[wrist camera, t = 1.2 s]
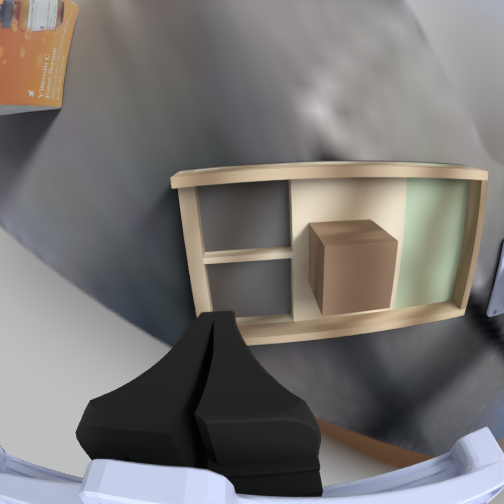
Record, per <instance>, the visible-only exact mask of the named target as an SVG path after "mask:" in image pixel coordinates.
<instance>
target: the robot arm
mask: <svg viewBox="0 0 504 504" xmlns="http://www.w3.org/2000/svg"><path fill="white" fill-rule="evenodd" d="M503 313H504V243H503V248H502V253H501V258H500V262H499V267H498V271H497V276H496V280H495V284H494V288H493V291H492V295H491V299H490V302H489V306H488V309H487V313H486V314H487V316H489V317H492V316H496V315H499V314H503ZM76 437H77V440H78V441H79V443H80V445H81V447H82V448H83V449H84V450H85V452H86V453H87V455H88V456H89V457H90V458H91V460H92V461H91V462H90V463H89V464H88V466H87V469H86V471H85V474H84V478H80V477H76V476H72V475H69V474H65V473H61V472H58V471H54V470H51V469H48V468H45V467H41V466H38V465H35V464H32V463H30V462H27V461H24V460H21V459H18V458H16V457H13V456H11V455H8V454H6V452H5V451H4V449H3V448H2V447H1V446H0V504H487V503H488V502H490V501H491V500H492V499H493V498H494V497H495V496H496V495H497V494H498V493H499V492H500V491H501V490H503V489H504V454H503V452H502V450H501V449H500V447H499V445H498V443H497V442H496V440H495V438H494V437H493V435H492V433H491V432H490V430H489V429H488V427H484V428H481V429H479V430H477V431H475V432H472V433H470V434H468V435H465V436H463V437H462V438H460V439H459V440H458V441H456V443H455V444H454V445H453V447H452V448H451V450H450V452H449V453H446V454H444V455H441V456H438V457H436V458H433V459H430V460H428V461H424V462H421V463H418V464H415V465H413V466H409V467H406V468H403V469H400V470H396V471H392V472H389V473H385V474H382V475H377V476H373V477H369V478H365V479H360V480H356V481H351V482H346V483H341V484H336V485H330V486H324V487H322V482H321V477H320V472H319V470H320V464H319V459H318V454H319V449H320V443H321V433H320V429H319V427H318V424H317V422H316V420H315V418H314V416H313V414H312V412H311V410H310V409H309V407H308V405H307V404H306V402H305V401H304V400H302V399H301V398H299V397H297V396H296V395H294V394H293V393H291V392H290V391H288V390H287V389H286V388H284V387H283V386H282V385H281V384H279V383H278V382H277V381H276V380H275V379H274V378H273V377H272V376H271V375H270V374H269V373H268V372H267V371H266V370H265V369H264V368H263V367H262V366H261V365H260V363H259V362H258V361H257V360H256V358H255V357H254V356H253V354H252V353H251V351H250V350H249V348H248V346H247V345H246V343H245V341H244V339H243V337H242V335H241V333H240V331H239V329H238V326H237V323H236V318H235V312H233V311H232V310H230V311H212V312H201V313H200V314H199V316H198V317H197V318H196V320H195V321H194V323H193V324H192V325H191V327H190V328H189V329H188V330H187V332H186V333H185V334H184V335H183V337H182V338H181V339H180V340H179V341H178V342H177V344H176V345H175V346H174V347H173V348H172V349H171V350H170V351H169V352H168V353H167V354H166V355H165V356H164V357H163V358H162V359H161V360H160V361H159V362H157V363H156V364H155V365H154V366H152V367H151V368H150V369H149V370H147V371H146V372H144V373H143V374H141V375H140V376H138V377H137V378H136V379H134V380H132V381H130V382H129V383H127V384H125V385H123V386H122V387H120V388H118V389H116V390H114V391H112V392H109V393H107V394H104V395H102V396H100V397H97V398H95V399H92V400H90V402H89V403H88V405H87V407H86V409H85V411H84V414H83V416H82V419H81V421H80V423H79V426H78V428H77V430H76Z"/></svg>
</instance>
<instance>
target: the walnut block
mask: <svg viewBox="0 0 504 504" xmlns="http://www.w3.org/2000/svg"><path fill="white" fill-rule="evenodd" d="M397 249H398V240H396V239H395V238H394V237H393V236H391V235H390V234H389V233H388V232H386V231H385V230H384V229H383V228H381V227H380V226H379V225H377V224H376V223H375V222H374V221H372V220H371V219H367V220H347V221H328V222H311V223H309V284H310V287H311V289H312V292H313V294H314V297H315V299H316V302H317V304H318V307H319V309H320V312H321V314H322V316H329V315H338V314H347V313H355V312H363V311H371V310H379V309H386V308H390V303H391V296H392V289H393V282H394V275H395V267H396V258H397Z"/></svg>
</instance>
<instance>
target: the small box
mask: <svg viewBox="0 0 504 504" xmlns="http://www.w3.org/2000/svg"><path fill="white" fill-rule="evenodd" d="M78 12H79V7H78V6H77V5H75V4H74V3H72V2H71V1H69V0H0V115H8V114H15V113H23V112H31V111H40V110H51V109H60V108H61V106H62V96H63V84H64V77H65V71H66V64H67V59H68V54H69V49H70V44H71V39H72V35H73V30H74V26H75V22H76V19H77V16H78Z"/></svg>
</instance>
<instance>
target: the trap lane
mask: <svg viewBox="0 0 504 504" xmlns="http://www.w3.org/2000/svg"><path fill="white" fill-rule="evenodd" d="M487 182H488V171H484V170H481V169H477V168H473V167H469V166H466V165H460V164H446V163H430V162H407V161H302V162H279V163H261V164H245V165H232V166H220V167H209V168H199V169H189V170H181V171H180V172H178V173H177V174H175V175H174V176H172V177H171V186H172V189H173V188H178V194H179V202H180V210H181V218H182V226H183V233H184V240H185V247H186V254H187V260H188V267H189V273H190V280H191V286H192V292H193V298H194V303H195V309H196V315H197V317H198V316H199V314H200V313H201V312H212V311H230V310H232V311H233V312H235V318H236V323H237V326H238V329H239V331H240V333H241V335H242V337H243V339H244V341H245V343H246V345H260V344H273V343H285V342H296V341H306V340H315V339H324V338H333V337H341V336H348V335H356V334H363V333H370V332H376V331H383V330H389V329H395V328H401V327H407V326H412V325H418V324H423V323H429V322H434V321H439V320H444V319H448V318H453V317H458V316H462V315H464V313H465V309H466V306H467V302H468V298H469V294H470V290H471V286H472V282H473V277H474V273H475V268H476V263H477V258H478V252H479V247H480V241H481V235H482V228H483V221H484V213H485V204H486V194H487ZM367 219H371V220H372V221H374V222H375V223H376V224H377V225H379V226H380V227H381V228H383V229H384V230H385V231H386V232H388V233H389V234H390V235H391V236H393V237H394V238H395V239H396V240H398V249H397V258H396V267H395V275H394V282H393V289H392V296H391V303H390V308H386V309H379V310H371V311H363V312H355V313H347V314H338V315H329V316H322V314H321V312H320V309H319V307H318V304H317V302H316V299H315V297H314V294H313V292H312V289H311V287H310V284H309V223H311V222H328V221H347V220H367Z"/></svg>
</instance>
